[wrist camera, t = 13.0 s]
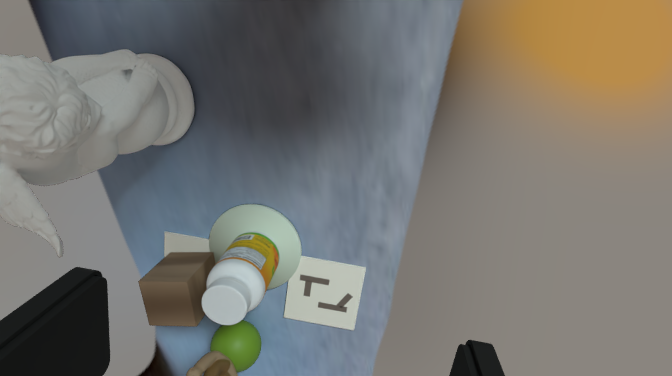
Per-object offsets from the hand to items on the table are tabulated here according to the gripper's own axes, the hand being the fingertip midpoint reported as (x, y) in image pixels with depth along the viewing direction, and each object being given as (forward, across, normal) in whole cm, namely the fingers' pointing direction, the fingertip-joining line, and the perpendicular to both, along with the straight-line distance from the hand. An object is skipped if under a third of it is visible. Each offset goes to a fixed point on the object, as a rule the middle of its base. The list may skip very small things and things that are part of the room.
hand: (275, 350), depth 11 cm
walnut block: (+30, +14, +18) cm, 38 cm away
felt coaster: (+30, +8, +14) cm, 34 cm away
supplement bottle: (+30, +8, +14) cm, 34 cm away
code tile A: (+30, 0, +18) cm, 35 cm away
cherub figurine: (+31, +19, +2) cm, 36 cm away
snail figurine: (+31, +9, +24) cm, 40 cm away
